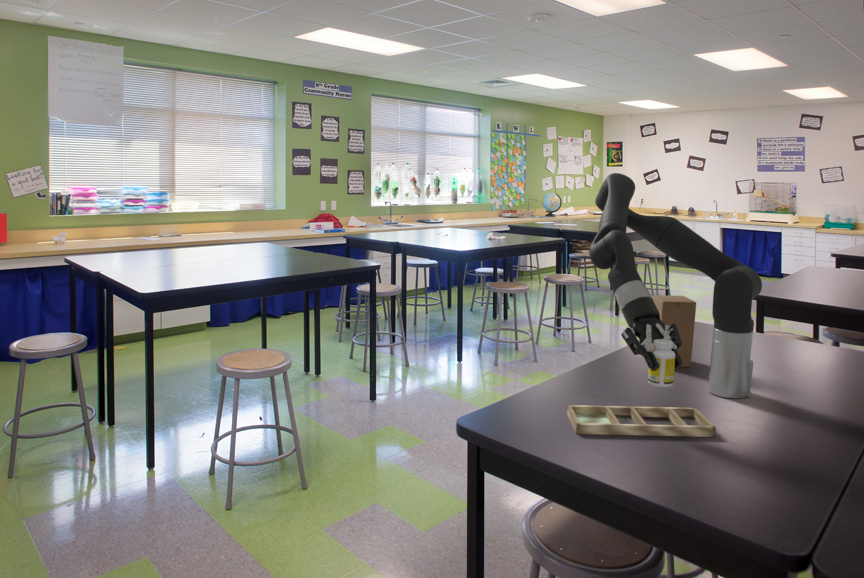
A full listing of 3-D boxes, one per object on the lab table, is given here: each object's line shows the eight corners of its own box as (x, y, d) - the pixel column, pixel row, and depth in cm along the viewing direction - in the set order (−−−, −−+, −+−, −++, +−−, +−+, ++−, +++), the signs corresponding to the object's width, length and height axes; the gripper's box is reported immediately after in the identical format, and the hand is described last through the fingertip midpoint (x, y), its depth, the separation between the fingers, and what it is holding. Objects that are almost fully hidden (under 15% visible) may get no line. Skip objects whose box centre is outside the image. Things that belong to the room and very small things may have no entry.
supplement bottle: (672, 381, 140) (675, 339, 138) (673, 388, 134) (677, 345, 133) (647, 378, 141) (650, 337, 140) (647, 386, 136) (650, 343, 135)
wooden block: (691, 367, 183) (697, 301, 180) (657, 367, 184) (662, 301, 180) (678, 357, 193) (683, 295, 190) (646, 357, 193) (651, 295, 190)
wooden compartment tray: (694, 416, 145) (695, 407, 145) (715, 437, 134) (716, 427, 133) (566, 413, 146) (567, 405, 146) (576, 433, 135) (576, 424, 134)
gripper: (654, 311, 150) (684, 373, 141) (603, 315, 145) (631, 379, 136) (670, 293, 144) (703, 356, 135) (617, 297, 139) (648, 362, 130)
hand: (667, 367), depth 135 cm, fingers closed on supplement bottle, 5 cm apart
